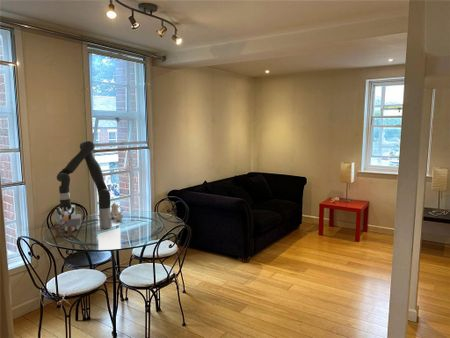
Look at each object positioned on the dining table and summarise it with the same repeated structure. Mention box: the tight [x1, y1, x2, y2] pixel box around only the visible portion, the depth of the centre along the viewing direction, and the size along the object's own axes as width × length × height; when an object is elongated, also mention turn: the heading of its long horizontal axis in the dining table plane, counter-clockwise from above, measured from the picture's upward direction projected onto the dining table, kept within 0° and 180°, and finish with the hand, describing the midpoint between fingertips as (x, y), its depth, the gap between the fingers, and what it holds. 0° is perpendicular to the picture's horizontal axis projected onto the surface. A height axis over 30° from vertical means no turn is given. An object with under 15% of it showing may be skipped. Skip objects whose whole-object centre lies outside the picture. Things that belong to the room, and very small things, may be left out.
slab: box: [66, 213, 82, 227], centre depth 277 cm, size 10×16×6 cm, turn 21°
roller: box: [62, 214, 69, 221], centre depth 261 cm, size 8×4×4 cm, turn 7°
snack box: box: [54, 204, 76, 227], centre depth 294 cm, size 21×6×15 cm, turn 168°
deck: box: [54, 225, 74, 238], centre depth 269 cm, size 12×28×9 cm, turn 6°
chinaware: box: [97, 201, 125, 223], centre depth 307 cm, size 28×17×17 cm, turn 76°
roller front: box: [64, 225, 76, 232], centre depth 269 cm, size 7×4×4 cm, turn 94°
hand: (66, 219), depth 261 cm, fingers closed on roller, 4 cm apart
